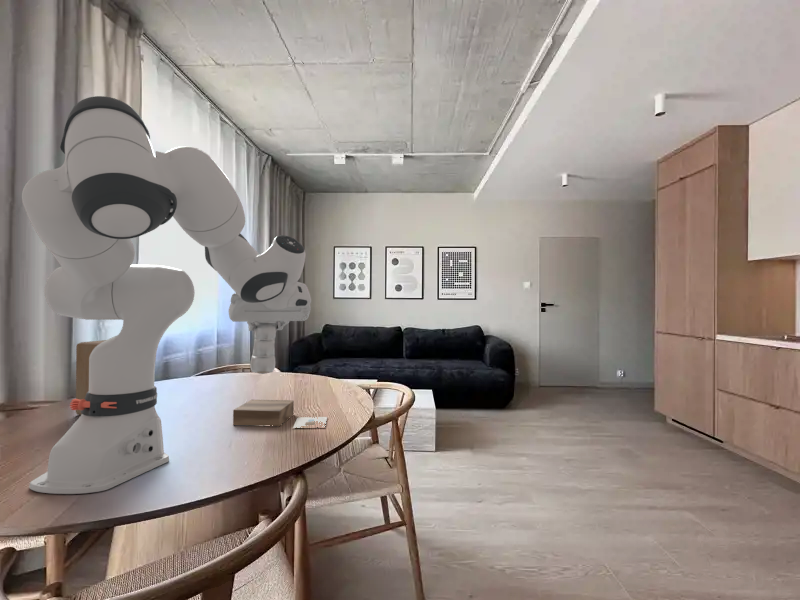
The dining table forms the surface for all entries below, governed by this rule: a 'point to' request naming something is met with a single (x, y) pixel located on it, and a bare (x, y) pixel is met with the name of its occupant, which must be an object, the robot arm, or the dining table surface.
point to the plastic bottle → (264, 347)
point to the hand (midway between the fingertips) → (265, 328)
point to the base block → (263, 412)
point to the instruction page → (308, 421)
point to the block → (83, 368)
